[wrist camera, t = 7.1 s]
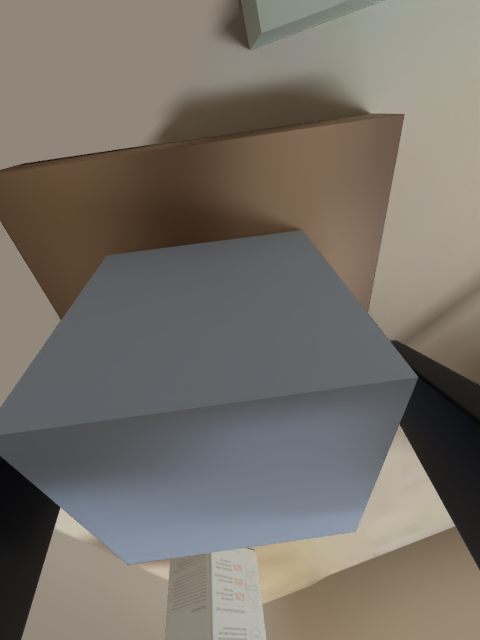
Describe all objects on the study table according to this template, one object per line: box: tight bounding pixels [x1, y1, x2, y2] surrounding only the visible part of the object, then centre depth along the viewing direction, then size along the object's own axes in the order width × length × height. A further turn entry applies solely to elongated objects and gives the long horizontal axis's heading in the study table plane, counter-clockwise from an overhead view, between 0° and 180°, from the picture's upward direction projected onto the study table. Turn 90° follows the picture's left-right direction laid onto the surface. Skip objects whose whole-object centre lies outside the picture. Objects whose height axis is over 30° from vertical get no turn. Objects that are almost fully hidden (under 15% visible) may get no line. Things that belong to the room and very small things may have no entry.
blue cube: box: [0, 230, 418, 565], centre depth 8 cm, size 6×6×6 cm
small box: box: [165, 548, 266, 640], centre depth 27 cm, size 8×6×10 cm
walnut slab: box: [0, 114, 404, 320], centre depth 11 cm, size 11×11×2 cm
